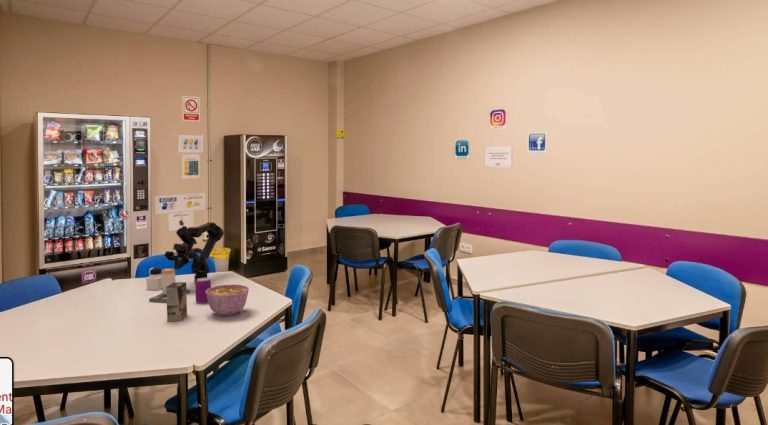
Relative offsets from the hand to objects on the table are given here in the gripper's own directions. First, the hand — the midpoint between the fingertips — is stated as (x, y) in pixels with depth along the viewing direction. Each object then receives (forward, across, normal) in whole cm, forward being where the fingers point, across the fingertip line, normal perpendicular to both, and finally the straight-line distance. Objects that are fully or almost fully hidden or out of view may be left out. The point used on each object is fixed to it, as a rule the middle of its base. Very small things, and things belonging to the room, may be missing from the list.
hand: (176, 269), depth 266 cm
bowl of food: (+27, +43, -7) cm, 51 cm away
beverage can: (+17, +22, +3) cm, 28 cm away
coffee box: (+36, +24, -16) cm, 46 cm away
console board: (+14, 0, +5) cm, 15 cm away
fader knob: (+13, 0, +3) cm, 14 cm away
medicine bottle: (+5, -18, +15) cm, 23 cm away
